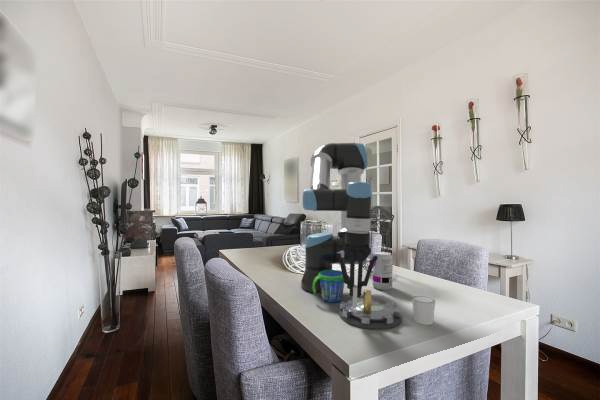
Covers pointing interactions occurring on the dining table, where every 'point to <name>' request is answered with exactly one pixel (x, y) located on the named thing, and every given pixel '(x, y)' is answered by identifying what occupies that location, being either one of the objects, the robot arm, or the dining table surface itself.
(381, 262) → the supplement can
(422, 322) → the shot glass
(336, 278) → the snack cup
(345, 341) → the dining table surface
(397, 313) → the sprocket
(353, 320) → the sprocket base
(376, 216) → the geometric lantern
